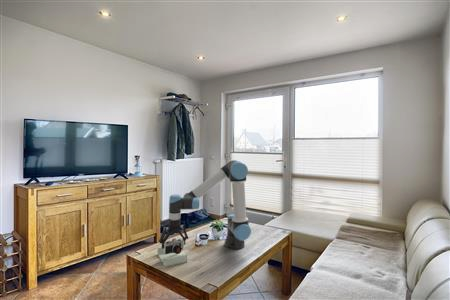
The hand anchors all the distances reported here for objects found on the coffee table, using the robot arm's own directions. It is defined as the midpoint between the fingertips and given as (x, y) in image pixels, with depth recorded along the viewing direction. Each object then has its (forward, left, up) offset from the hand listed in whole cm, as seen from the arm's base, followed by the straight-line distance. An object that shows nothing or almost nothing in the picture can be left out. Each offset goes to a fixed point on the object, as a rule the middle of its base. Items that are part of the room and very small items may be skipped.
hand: (173, 251), depth 158 cm
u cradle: (+1, 0, -4) cm, 4 cm away
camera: (-1, 0, -1) cm, 1 cm away
